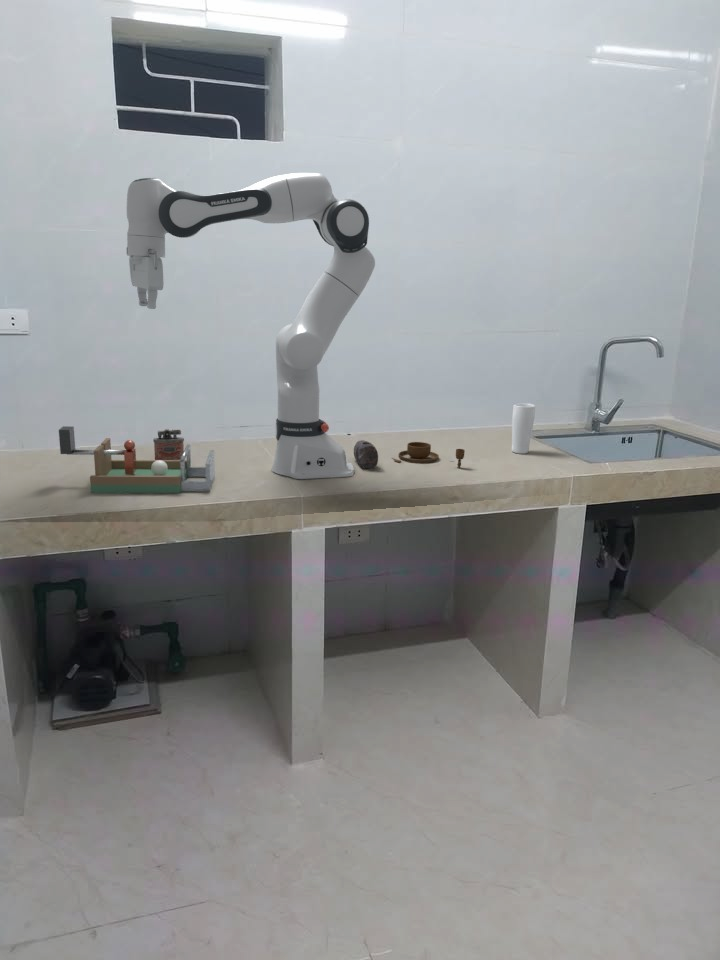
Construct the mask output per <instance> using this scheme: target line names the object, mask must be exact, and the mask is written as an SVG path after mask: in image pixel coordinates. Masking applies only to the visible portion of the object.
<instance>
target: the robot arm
mask: <svg viewBox="0 0 720 960" xmlns="http://www.w3.org/2000/svg"><path fill="white" fill-rule="evenodd" d="M126 219H127V221H128V229H127V232H126V233H127V234H126V237H127V239H126V241H127V247H126V255H127V256H128V257H129V258H128V260H129V261H128V262H129V263H128V265H129V272H130V273H129V275H130V282H131V285H132V286H133V287H135V288H137V289H136V291H137V296H138V305H139V306H140V307H147V308H148V309H150V310H156V307H157V298H158V291H162V290H164V289H163V288H164V267H163V259H162V258H166V235H167V234H169V235H172V236H173V237H177V238H181V239H182V238H192V237H194V236H195V235H197V234H198V233H199V232H200V231H201V230H202V229H203V228H205V227H207V226H211V225H213V224H219V223H226V222H231V221H237V220H253V221H257V222H260V223H263V224H286V223H292V222H298V221H303V220H312V221H313V223H314V225H315V227H316V229H317V232H318V234H319V235H320V237H321V239H322V240H323V241H324V242H325V243H326V244H328V245H329V246H332V247H333V250H334V251H333V256H332V258H331V260H330V262H329V264H328V265H327V266H326V268H325V269H324V271H323V272H322V274H321V275H320V277H319V278H318V280H317V281H316V283H315V284H314V286H313V287H312V288H311V290H310V291H309V293H308V295H307V296H306V298H305V300H304V302H303V304H302V306H301V307H300V310H299V311H298V313H297V316H296V317H295V318H294V320H293V322H292V323H289V324H287V325H284V327H282V328H281V329H280V330H279V332H278V333H277V336H276V337H275V338H276V339H275V360H276V379H277V380H276V382H277V418H276V419H275V438H276V446H275V454H274V459H273V463H272V466H271V471H272V472H273V473H275V474H277V475H281V476H285V477H286V476H287V477H290V478H292V479H297V480H304V479H305V480H307V479H309V480H310V479H324V478H327V479H328V478H343V477H351V476H353V475H354V473H355V468H354V465H353V464H352V463H351V462H349V461H347V455H346V451H345V449H344V447H343V446H342V445H341V444H340V443H339V442H338V441H336V440H335V439H334V438H333V437H331V436H330V435H329V434H327V432H328V431H330V430H329V429H330V427H329V425H328V424H327V423H326V421H324V420H323V419H320V386H319V384H320V383H319V375H318V374H319V373H318V365H319V364H320V363H321V362H322V360H323V357H324V356H325V354H326V353H327V351H328V348H329V347H330V346H331V343H332V342H333V340H334V338H335V336H336V334H337V333H338V332H337V331H338V330H339V328H340V327H341V324H342V323H343V321H344V319H345V318H346V316H347V315H348V314H349V312H350V311H351V309H352V308H353V306H354V304H355V303H356V302H357V301H358V299H359V297H360V295H362V293H363V291H364V289H365V287H366V286H367V284H368V283H369V281H370V278H371V277H372V274H373V272H374V269H375V266H376V259H375V257H374V255H373V253H372V252H371V251H370V249H368V248H367V247H366V246H367V244H368V238H369V229H370V218H369V213H368V211H367V210H366V208H365V206H363V205H362V203H360V202H358V201H357V200H354V199H347V198H345V199H341V200H339V199H337V198H336V197H335V196H334V194H333V189H332V185H331V183H330V181H329V179H328V178H327V176H325V175H324V174H322V173H319V172H295V173H287V174H280V175H276V176H275V175H274V176H272V177H268V178H266V179H265V178H264V179H263V180H260V181H258V182H255V183H253V184H251V185H249V186H247V187H245V188H242V189H239V190H234V191H228V192H226V191H225V192H221V193H215V194H208V195H207V194H206V195H199V194H195V193H192V192H189V191H183V190H175V189H174V188H172V187H170V186H169V185H167V184H166V183H164V182H163V181H162V180H161V179H160V178H156V177H145V178H143V177H142V178H138V179H135V180H133V181H132V182H131V183H130V184H129V186H128V188H127V194H126Z"/></svg>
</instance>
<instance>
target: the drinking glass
mask: <svg viewBox="0 0 720 960" xmlns="http://www.w3.org/2000/svg"><path fill="white" fill-rule="evenodd" d="M512 406H513V407H512V413H511V452H512V453H514V454H519V455H526V454H528V453H529V451H530V444H531V438H532V432H533V429H534V423H535V418H536V417H535V416H536V405H535V404H532V403H527V402H525V403H524V402H519V403H518V402H517V403H514V404H513V405H512Z"/></svg>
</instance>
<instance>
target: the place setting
mask: <svg viewBox="0 0 720 960" xmlns="http://www.w3.org/2000/svg"><path fill="white" fill-rule="evenodd" d="M406 446H407V447H406V449H407V450H401V451H399V453H398V458H399V459H395V457H391V459H392V460H393V462H395V463H401V462H402V461H404V462H407V463H414V464H431V463H434V462H437V461H438V460H439V457H440V456H439V454H438V453H436V452H433V451H431V448H432V447H431V446H432V444H430V443H428V442H423V441H413V442H411V441H410V442H408V443H407V444H406ZM465 453H466V452H465V449H463V448H456V449H455V459H456V460H457V464H456V465H457V467H456V469H462V467H461V466H462V460H463V459H464V458H465ZM405 456H409V457H411V458H409V457H405ZM428 457H432V458H428ZM427 458H428V459H427ZM449 462H452V463H453V462H454V460H452V461H449Z"/></svg>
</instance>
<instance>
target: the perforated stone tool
mask: <svg viewBox="0 0 720 960" xmlns="http://www.w3.org/2000/svg"><path fill="white" fill-rule="evenodd" d="M353 456H354V457H353V458H354V459H355V460H356V462H357V463H358V465H359V466H361V467H363V468H364V469H365V468H366V469H368V468H369V469H370V468H375V467H376V466H377V465H378V462H379V453H378V450H377V448H376V447H375V446H374V445H373V444H372V443H371V442H370V441H368V440H367V441H366V440H365V439H364V440H361V439H360V440H358V441H357V442H356V443H355V445H354V447H353Z"/></svg>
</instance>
